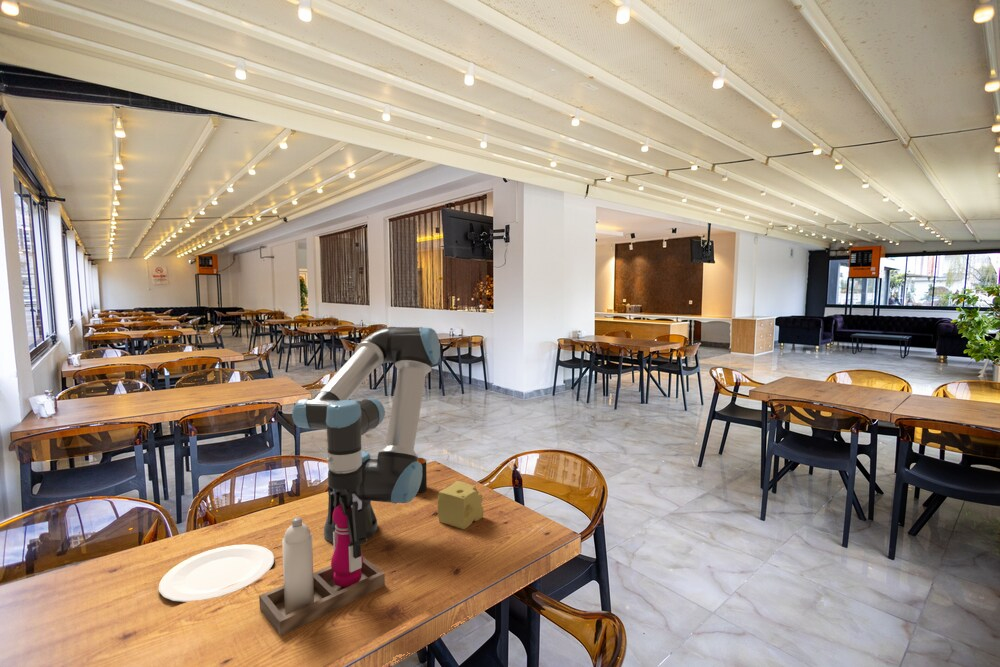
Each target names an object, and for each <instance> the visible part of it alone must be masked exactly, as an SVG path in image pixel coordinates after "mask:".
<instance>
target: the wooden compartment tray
mask: <svg viewBox="0 0 1000 667" xmlns="http://www.w3.org/2000/svg"><path fill="white" fill-rule="evenodd" d="M333 575H334V571H333V570H332V568H331V565H330V566H329V565H328V567H325V568H322V569H320V570H317V571H314V572H313V580H314V603H312V604H309V605H307V606H305V607H303V608H301V609H298V610H296V611H294V612H292V613H290V614H288V615H286V614H285V606H284V584H283V585H282V586H278V587H277V588H273V589H271V590H269V591H267V592H264V593H262V594H260V595H259V596H258V598H259V599H258V600H259V610H260V611H261V612H262V613H263V615H264V616H265V618H266V620H268V622H269V623H270V625H271V626H272V627H273V628H274V630H275V631H276V633H278V635H279V637H281V636H284V635H286V634H288V633H290V632H292V631H294V630H296V629H298V628H301V627H302V626H304V625H306V624H309V623H311V622H312V621H314V620H317V619H319V618H321V617H323V616H325V615H327V614H329V613H331V612H333V611H336V610H339V609H340V608H341V607H345V606H346V605H348V604H350V603H352V602H354V601H356V600H359V599H360V598H362V597H365V596H367V595H368V594H371V593H373V592H375V591H377V590H379V589H381V588H383V587H385V586H386V583H385V582H386V578H385V577H386V574H385V572H383V570H381V569H379V568H378V567H377V566H375V565H374V564H373V563H372V562H371V561H369V560H368V559H367V558H365V557H364V556H363V563H362V568H361V579H360V580H359V581H358V582H357V583H355V584H353V585H351V586H347V587H340V586H337V585H335V583H334V576H333Z"/></svg>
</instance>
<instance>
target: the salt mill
mask: <svg viewBox="0 0 1000 667" xmlns="http://www.w3.org/2000/svg"><path fill="white" fill-rule="evenodd" d="M281 541H282V544H281V545H282V568H283V569H282V572H283V574H282V575H283V585H284V606H285V614H286V615H288V614H290V613H292V612H294V611H296V610H298V609H301V608H303V607H305V606H307V605H309V604H312V603H314V580H313V573H314V552H313V551H314V548H313V534H312V533H311V531H310V528H309V527H308V526H307V524H305V523H303V518H302V517H294V518H293V519H292V520H291V524H290V526H289V527H288V528H287V529H286V530H285V532H284V536H283V538H282V540H281Z"/></svg>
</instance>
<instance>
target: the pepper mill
mask: <svg viewBox="0 0 1000 667" xmlns="http://www.w3.org/2000/svg"><path fill="white" fill-rule="evenodd" d="M351 509H352V508H350V509H347V511H348V510H351ZM332 517H333V521H334V523H335V524H336V525H335V528H336V529H335V532H336V533H337V545H336V548H335V551H334V550H333V553H332V556H331V560H330V566H331V568H332V570H333V571H334V575H333V576H334V583H335V585H337V586H340V587H347V586H351V585H353V584H355V583H357V582H358V581H359V580H360V579H361V568H360V569H358V570H355V571H353V572H350V571H349V546H348V544H349V543H351V542H350V536H349V531H348V526H347V516H346V515H344V514H343V510H342V506H341V505H338V506H337V507H336V508H335V509H334V511H333V516H332ZM363 557H364V556H363V551H362V550H361V561H362V563H363Z"/></svg>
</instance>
